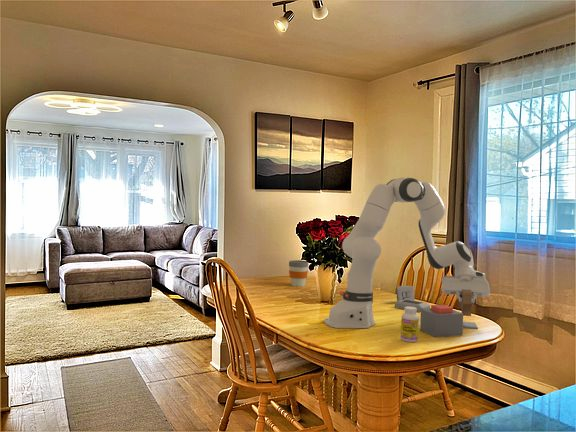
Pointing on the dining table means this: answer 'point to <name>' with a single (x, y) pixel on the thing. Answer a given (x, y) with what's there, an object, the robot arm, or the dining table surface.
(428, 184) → the robot arm
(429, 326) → the gray socket block
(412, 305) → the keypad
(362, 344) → the dining table surface
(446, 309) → the button
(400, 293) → the electrical switch
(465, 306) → the brown wooden block
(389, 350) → the dining table surface
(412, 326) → the supplement bottle
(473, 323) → the pad
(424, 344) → the dining table surface
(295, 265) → the reusable coffee cup
